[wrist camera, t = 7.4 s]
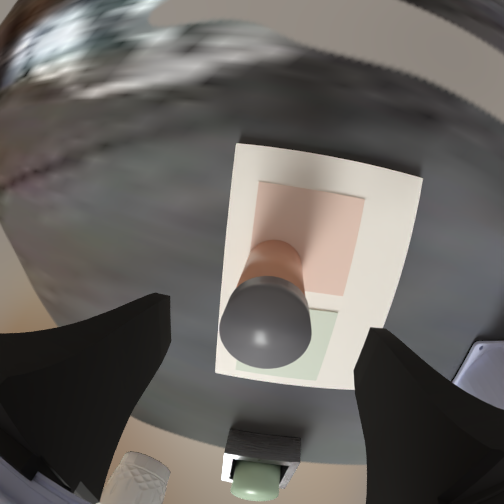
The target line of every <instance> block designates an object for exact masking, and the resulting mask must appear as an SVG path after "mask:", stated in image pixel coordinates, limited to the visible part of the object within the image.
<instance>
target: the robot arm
mask: <svg viewBox="0 0 504 504" xmlns="http://www.w3.org/2000/svg"><path fill="white" fill-rule="evenodd" d="M170 343H171V322H170V296H167V295H163V294H158V293H153V294H149V295H147V296H144V297H142V298H139V299H137V300H135V301H132V302H130V303H127V304H125V305H123V306H120V307H118V308H116V309H113V310H111V311H108V312H106V313H103V314H100V315H98V316H95V317H92V318H89V319H87V320H84V321H80V322H77V323H73V324H70V325H66V326H62V327H57V328H52V329H47V330H41V331H34V332H25V333H7V334H0V504H96V503H99V502H100V499H101V494H102V491H103V487H104V483H105V479H106V476H107V473H108V470H109V467H110V464H111V461H112V458H113V455H114V452H115V450H116V448H117V445H118V442H119V440H120V437H121V435H122V433H123V430H124V428H125V426H126V423H127V421H128V419H129V417H130V415H131V413H132V411H133V409H134V407H135V405H136V404H137V402H138V401H139V399H140V397H141V396H142V394H143V393H144V391H145V389H146V388H147V386H148V385H149V383H150V381H151V380H152V378H153V377H154V375H155V373H156V372H157V370H158V368H159V367H160V365H161V363H162V362H163V359H164V357H165V355H166V353H167V350H168V348H169V346H170ZM353 372H354V387H355V395H356V400H357V405H358V410H359V414H360V419H361V424H362V429H363V434H364V439H365V445H366V456H367V497H366V504H504V341H477V342H475V343H474V344H473V346H472V348H471V350H470V352H469V354H468V355H467V357H466V359H465V361H464V363H463V364H462V366H461V368H460V370H459V371H458V373H457V375H456V377H455V378H454V380H453V382H450V381H449V380H448V379H446V378H445V377H443V376H442V375H441V374H440V373H438V372H437V371H436V370H434V369H433V368H432V367H431V366H429V365H428V364H427V363H426V362H425V361H423V360H422V359H421V358H420V357H419V356H418V355H417V354H415V353H414V352H413V351H412V350H411V349H410V348H409V347H407V346H406V345H405V344H404V343H403V342H402V341H401V340H399V339H398V338H397V337H396V336H395V335H393V334H392V333H391V332H389V331H388V330H387V329H384V328H374V327H370V329H369V332H368V335H367V337H366V340H365V343H364V345H363V348H362V350H361V353H360V355H359V358H358V360H357V363H356V365H355V368H354V370H353Z"/></svg>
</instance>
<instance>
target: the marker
mask: <svg viewBox="0 0 504 504" xmlns="http://www.w3.org/2000/svg"><path fill="white" fill-rule="evenodd" d="M219 334H220V338H221V341H222V343H223V345H224V347H225V348H226V350H227V351H228V352H229V353H230V354H231V355H232V356H233V357H234V358H235V359H237V360H238V361H240V362H242V363H244V364H246V365H249V366H252V367H255V368H261V369H273V368H279V367H283V366H286V365H289V364H291V363H293V362H294V361H296V360H297V359H298V358H300V357H301V356H302V355H303V354H304V353H305V351H306V350H307V348H308V346H309V344H310V341H311V336H312V328H311V320H310V311H309V305H308V302H307V299H306V297H305V289H304V280H303V272H302V264H301V259H300V256H299V254H298V252H297V251H296V250H295V248H294V247H292V246H291V245H290V244H288V243H286V242H284V241H281V240H267V241H264V242H261V243H260V244H258V245H257V246H255V247H254V248H253V250H252V251H251V252H250V254H249V256H248V259H247V261H246V264H245V266H244V269H243V272H242V274H241V277H240V279H239V282H238V284H237V287H236V289H235V290H234V291H233V293H232V294H231V296H230V298H229V300H228V303H227V305H226V308H225V310H224V312H223V315H222V317H221V320H220V325H219Z"/></svg>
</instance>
